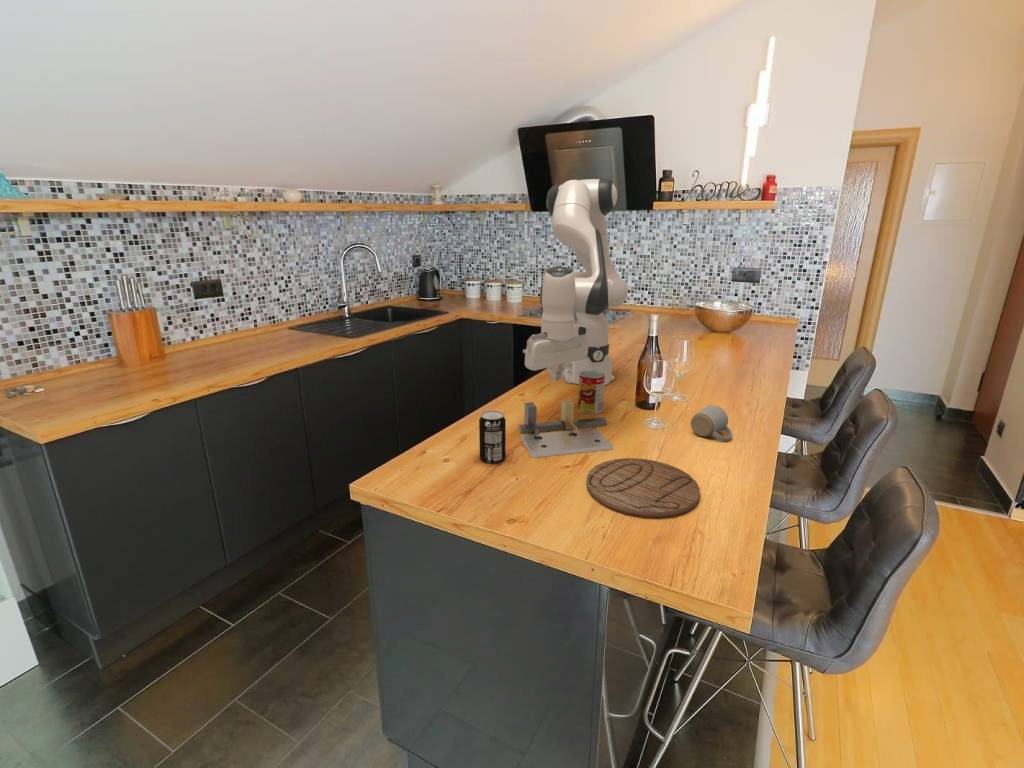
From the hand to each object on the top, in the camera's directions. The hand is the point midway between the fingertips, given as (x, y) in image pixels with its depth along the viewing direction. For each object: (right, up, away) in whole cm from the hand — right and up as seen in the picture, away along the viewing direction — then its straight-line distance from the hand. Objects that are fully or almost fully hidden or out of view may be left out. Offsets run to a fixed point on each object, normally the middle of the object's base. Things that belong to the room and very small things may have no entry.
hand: (556, 379), depth 147 cm
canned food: (+13, -9, +24) cm, 28 cm away
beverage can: (-17, -20, -10) cm, 28 cm away
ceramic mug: (+44, -16, +5) cm, 47 cm away
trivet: (+17, -26, -24) cm, 39 cm away
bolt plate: (+3, -17, -1) cm, 18 cm away
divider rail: (+3, -15, +7) cm, 17 cm away
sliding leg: (+4, -14, +7) cm, 17 cm away
